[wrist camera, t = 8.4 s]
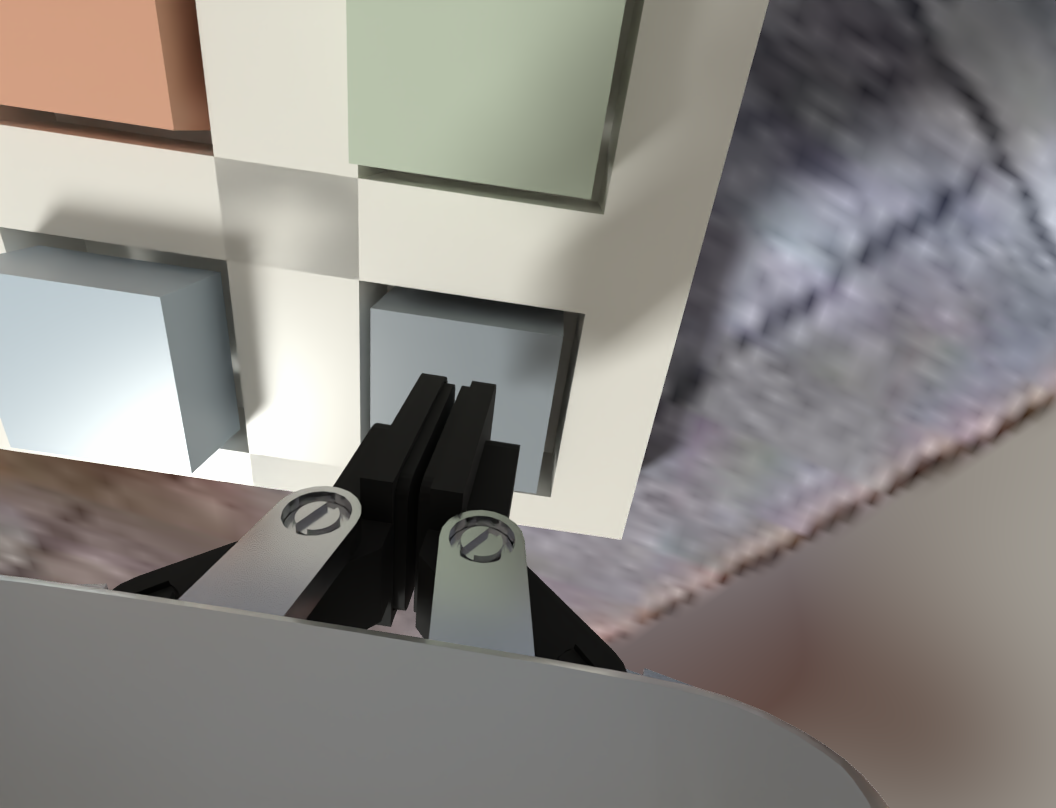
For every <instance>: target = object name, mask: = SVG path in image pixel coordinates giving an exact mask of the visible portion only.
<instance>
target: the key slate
mask: <svg viewBox="0 0 1056 808" xmlns="http://www.w3.org/2000/svg"><path fill="white" fill-rule="evenodd" d="M563 320H564V311H562V310H555V309H549V308H542V307H535V306H529V305H522V304H515V303H508V302H502V301H495V300H488V299H481V298H475V297H468V296H461V295H455V294H448V293H441V292H434V291H428V290H421V289H414V288H408V287H401V286H394V287H393V288H392V289H391V290H390V291H389V292H388V293H387V294H385V295H384V296H383V297H382V298H381V299H380V300H379V301H378V302H377V303H376V304H374V305H373V306H372V307H371V308H370V429H371V427H372V426H373V425H374V424H375V423H382V424H389V425H391V424H392V422H393V421H394V419H395V417H396V415H397V414H398V412H399V410H400V409H401V407H402V405H403V404H404V402H405V400H406V399H407V397H408V395H409V394H410V392H411V390H412V388H413V387H414V385H415V383H416V382H417V380H418V378H419V377H420V375H421V374H422V373H426V374H432V375H439V376H445V377H447V381H448V383H450V384H455V400H456V398H457V396H458V393H459V391H460V389H461V386H469V387H470V385H471V382H472V381H478V382H484V383H491V384H496V397H495V406H494V414H493V423H492V431H491V440H492V441H499V442H505V443H512V444H518V445H520V451H519V458H518V465H517V472H516V478H515V485H514V491H521V492H528V493H535V494H536V492H537V486H538V480H539V475H540V469H541V463H542V457H543V451H544V446H545V440H546V434H547V428H548V423H549V417H550V411H551V405H552V399H553V394H554V388H555V382H556V376H557V370H558V365H559V359H560V353H561V347H562V342H563ZM454 403H455V402H454Z"/></svg>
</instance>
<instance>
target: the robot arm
mask: <svg viewBox="0 0 1056 808" xmlns="http://www.w3.org/2000/svg"><path fill="white" fill-rule="evenodd" d="M495 397H496V384H491V383H484V382H478V381H472V382H471V385H470V387H469V386H461V389H460V391H459V393H458V396H457V398H456V400H455V384H450V383H448V381H447V377H445V376H439V375H432V374H426V373H422V374H421V375H420V377H419V378H418V380H417V382H416V383H415V385H414V387H413V388H412V390H411V392H410V394H409V395H408V397H407V399H406V400H405V402H404V404H403V405H402V407H401V409H400V410H399V412H398V414H397V415H396V417H395V419H394V421H393V422H392V424H391V425H389V424H382V423H375V424H374V425H373V426H372V427H371V429H370V430H369V432H368V433H367V435H366V436H365V438H364V439H363V441H362V442H361V444H360V446H359V447H358V449H357V450H356V452H355V453H354V455H353V456H352V458H351V459H350V461H349V462H348V464H347V466H346V467H345V469H344V470H343V472H342V473H341V475H340V476H339V478H338V479H337V481H336V482H335V484H334V485H333V487H331V486H315V487H310V488H305V489H301V490H299V491H296V492H294V493H292V494H289V495H288V496H286V497H285V498H284V499H282V500H281V501H280V502H278V503H277V504H276V505H275V506H274V507H273V508H272V509H271V510H270V511H269V512H268V513H267V514H266V515H265V516H264V517H263V518H262V519H261V520H260V521H259V522H258V523H257V524H256V525H255V526H254V527H253V528H252V529H251V530H249V531H248V532H247V533H246V534H245V535H244V536H243V537H242V538H241V539H240V540H239V541H237V542H234V543H231V544H228V545H225V546H222V547H220V548H217V549H214V550H211V551H208V552H205V553H203V554H200V555H197V556H194V557H191V558H188V559H186V560H183V561H180V562H177V563H174V564H171V565H169V566H166V567H163V568H160V569H157V570H154V571H152V572H149V573H146V574H143V575H140V576H138V577H135V578H133V579H131V580H129V581H126V582H124V583H122V584H120V585H119V586H117V587H116V588H114V589H113V590H108V587H107V584H84V585H73V584H66V583H59V582H52V581H45V580H38V579H31V578H24V577H15V576H6V575H0V808H889V806H888V805H887V804H886V802H885V801H884V800H883V798H882V797H881V796H880V794H879V793H878V792H877V791H876V790H875V788H874V787H873V786H872V785H871V784H870V783H869V782H868V780H867V779H866V778H865V777H864V776H863V775H862V774H861V773H860V772H859V771H857V770H856V769H855V768H854V767H853V766H851V764H850V763H848V762H847V761H846V760H845V759H844V758H842V757H841V756H839V755H838V754H837V753H835V752H834V751H833V750H831V749H830V748H828V747H827V746H826V745H824V744H822V743H821V742H820V741H818V740H816V739H815V738H813V737H812V736H810V735H808V734H807V733H805V732H803V731H802V730H799V729H798V728H796V727H794V726H792V725H790V724H788V723H786V722H784V721H782V720H780V719H778V718H777V717H775V716H773V715H771V714H769V713H767V712H765V711H762V710H760V709H757V708H755V707H752V706H750V705H747V704H745V703H742V702H740V701H737V700H734V699H732V698H729V697H727V696H724V695H720V694H717V693H713V692H710V691H706V690H703V689H699V688H696V687H693V686H691V685H688V684H685V683H683V682H680V681H677V680H675V679H672V678H669V677H667V676H664V675H661V674H658V673H656V672H653V671H650V670H648V669H644V672H643V674H642V675H641V674H638V673H635V672H633V671H630V670H627V669H625V666H624V664H623V662H622V661H621V660H620V658H619V657H618V656H617V654H616V653H615V652H614V651H613V650H612V649H611V648H610V647H609V646H608V645H607V644H606V643H605V642H604V641H603V640H602V639H601V638H600V637H599V636H598V635H597V634H596V633H595V632H594V631H593V630H592V629H591V628H590V627H589V626H588V625H587V624H586V623H585V622H584V621H583V620H582V619H581V618H580V617H579V616H577V615H576V614H575V613H574V612H573V611H572V610H571V609H570V608H569V607H568V606H567V605H566V604H565V603H564V602H563V601H562V600H561V599H560V598H559V597H558V596H557V595H556V594H555V593H554V592H553V591H552V590H551V589H550V588H549V587H548V586H547V585H546V584H545V583H544V582H543V581H542V580H541V579H540V578H539V577H538V576H537V575H536V574H535V573H534V572H533V571H532V570H531V569H529V568H528V567H527V563H526V552H525V541H524V537H523V534H522V531H521V530H520V528H519V527H518V526H517V525H516V523H515V522H513V521H512V520H510V519H509V516H510V510H511V504H512V498H513V491H514V485H515V478H516V472H517V465H518V458H519V451H520V445H518V444H512V443H505V442H499V441H492V440H491V431H492V423H493V414H494V406H495ZM454 402H455V403H454ZM414 587H415V589H414ZM413 590H414V612H416V628H417V630H418V631H419V632H420V634H421V635H422V637H423V638H418V637H412V636H405V635H399V634H393V633H386V632H380V631H374V630H367V629H368V628H370V627H372V626H374V625H376V624H377V625H383V626H389V627H391V625H392V622H393V619H394V617H395V614H396V611H397V609H398V610H406V609H407V608H408V605H409V602H410V599H411V596H412V593H413Z"/></svg>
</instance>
